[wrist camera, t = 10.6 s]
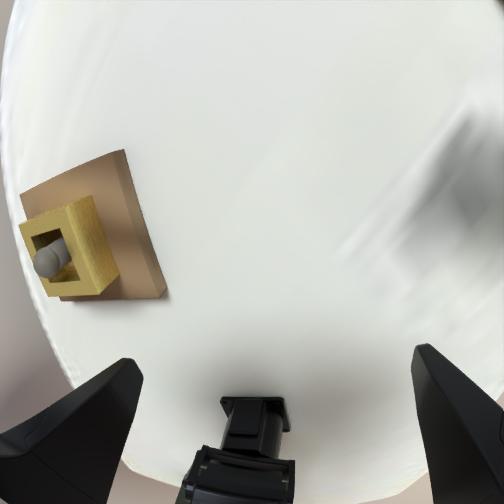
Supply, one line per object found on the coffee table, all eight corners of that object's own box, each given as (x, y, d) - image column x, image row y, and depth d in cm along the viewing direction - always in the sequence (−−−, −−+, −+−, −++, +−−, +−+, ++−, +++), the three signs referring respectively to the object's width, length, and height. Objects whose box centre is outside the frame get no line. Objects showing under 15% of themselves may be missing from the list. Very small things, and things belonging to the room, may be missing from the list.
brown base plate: (166, 286, 23) (129, 339, 17) (69, 293, 25) (31, 330, 20) (123, 148, 18) (61, 167, 13) (30, 190, 21) (-21, 213, 15)
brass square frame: (119, 273, 21) (98, 294, 18) (68, 279, 22) (48, 296, 20) (91, 194, 18) (64, 207, 16) (42, 212, 20) (18, 225, 17)
